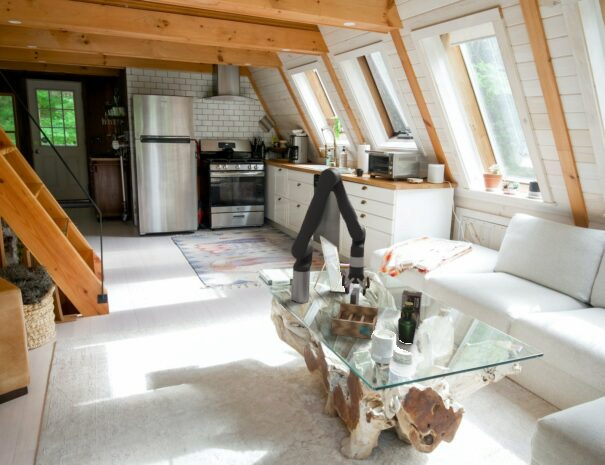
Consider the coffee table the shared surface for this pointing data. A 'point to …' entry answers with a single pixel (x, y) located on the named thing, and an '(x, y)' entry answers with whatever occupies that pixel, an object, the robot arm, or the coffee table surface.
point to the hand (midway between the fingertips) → (355, 294)
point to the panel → (354, 296)
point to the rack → (355, 320)
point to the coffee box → (416, 300)
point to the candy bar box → (345, 270)
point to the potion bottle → (407, 324)
